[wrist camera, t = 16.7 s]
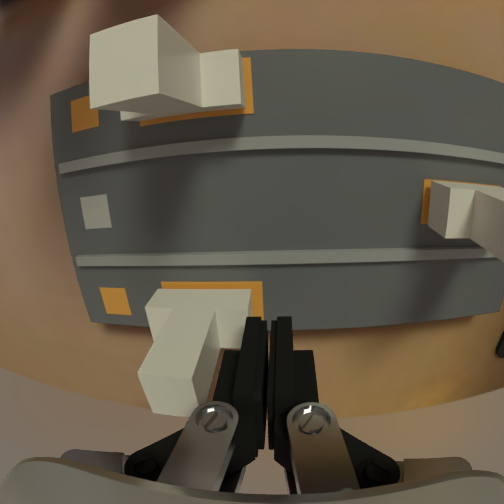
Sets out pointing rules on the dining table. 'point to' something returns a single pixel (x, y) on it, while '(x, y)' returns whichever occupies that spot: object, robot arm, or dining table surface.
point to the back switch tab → (189, 344)
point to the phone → (500, 347)
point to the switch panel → (287, 193)
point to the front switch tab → (160, 73)
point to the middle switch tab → (469, 213)
